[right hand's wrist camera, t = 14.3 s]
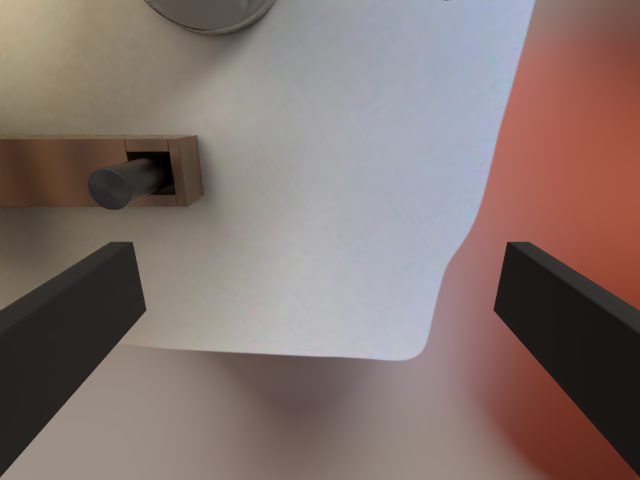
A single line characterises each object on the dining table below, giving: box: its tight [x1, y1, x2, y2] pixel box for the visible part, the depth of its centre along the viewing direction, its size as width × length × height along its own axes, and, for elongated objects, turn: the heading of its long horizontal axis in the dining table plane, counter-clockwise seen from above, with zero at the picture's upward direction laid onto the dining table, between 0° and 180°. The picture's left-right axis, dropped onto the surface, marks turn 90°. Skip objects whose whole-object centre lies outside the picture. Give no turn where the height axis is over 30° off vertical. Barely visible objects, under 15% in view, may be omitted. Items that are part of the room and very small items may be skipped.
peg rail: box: [0, 135, 203, 206], centre depth 35 cm, size 26×6×5 cm, turn 90°
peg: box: [88, 152, 174, 210], centre depth 32 cm, size 3×3×12 cm
